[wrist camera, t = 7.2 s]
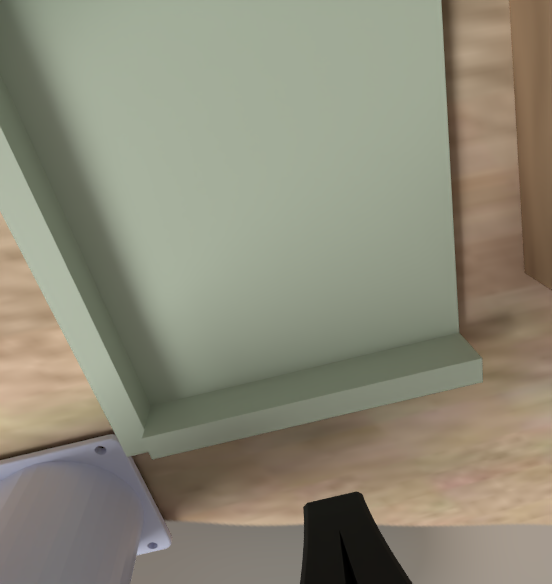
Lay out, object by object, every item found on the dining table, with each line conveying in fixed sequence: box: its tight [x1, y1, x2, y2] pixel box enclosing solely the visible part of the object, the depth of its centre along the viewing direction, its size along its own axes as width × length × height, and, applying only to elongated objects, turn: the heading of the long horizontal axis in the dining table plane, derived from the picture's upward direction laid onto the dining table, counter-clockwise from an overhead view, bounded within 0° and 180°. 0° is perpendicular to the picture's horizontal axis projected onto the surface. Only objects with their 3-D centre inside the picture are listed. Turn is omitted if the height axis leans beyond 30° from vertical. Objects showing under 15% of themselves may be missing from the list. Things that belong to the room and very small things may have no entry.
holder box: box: [0, 0, 483, 460], centre depth 15 cm, size 15×18×2 cm
